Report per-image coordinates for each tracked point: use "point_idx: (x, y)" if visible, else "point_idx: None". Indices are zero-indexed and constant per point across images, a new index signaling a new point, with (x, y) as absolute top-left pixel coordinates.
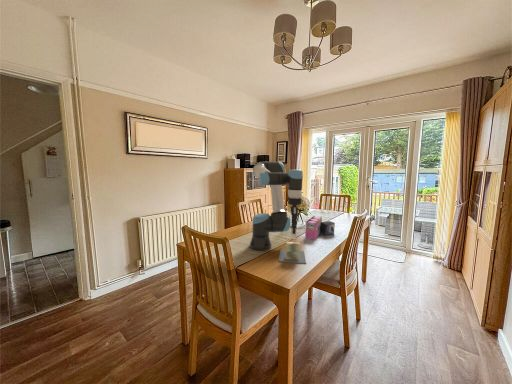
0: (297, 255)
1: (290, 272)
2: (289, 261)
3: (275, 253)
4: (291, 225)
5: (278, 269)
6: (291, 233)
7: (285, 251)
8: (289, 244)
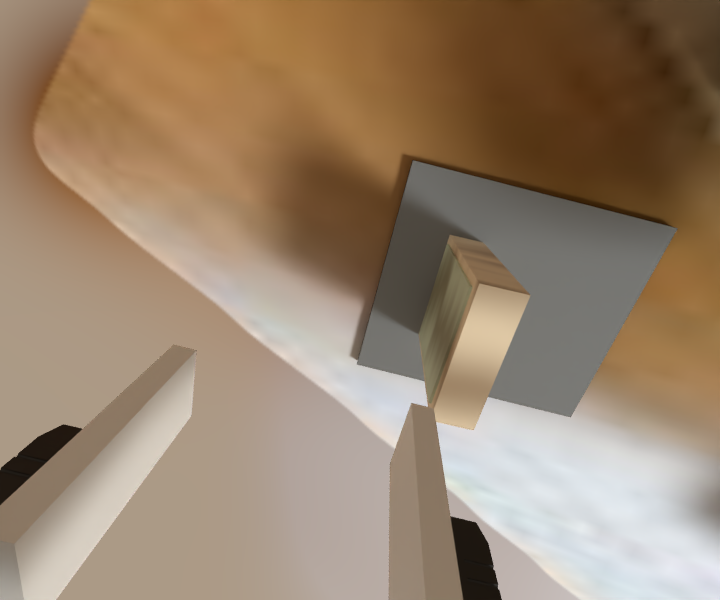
0: (422, 338)
1: (231, 216)
2: (393, 253)
3: (606, 162)
4: (422, 583)
5: (273, 128)
6: (104, 409)
7: (607, 269)
8: (463, 314)
